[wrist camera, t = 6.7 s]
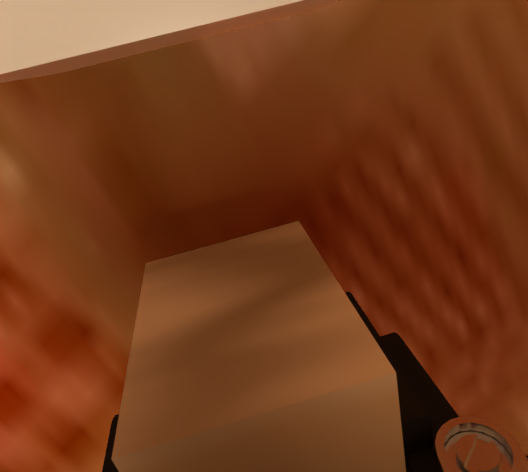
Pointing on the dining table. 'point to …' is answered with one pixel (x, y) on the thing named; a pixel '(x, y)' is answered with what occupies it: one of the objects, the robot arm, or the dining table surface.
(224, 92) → the dining table surface
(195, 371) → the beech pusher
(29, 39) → the tile
